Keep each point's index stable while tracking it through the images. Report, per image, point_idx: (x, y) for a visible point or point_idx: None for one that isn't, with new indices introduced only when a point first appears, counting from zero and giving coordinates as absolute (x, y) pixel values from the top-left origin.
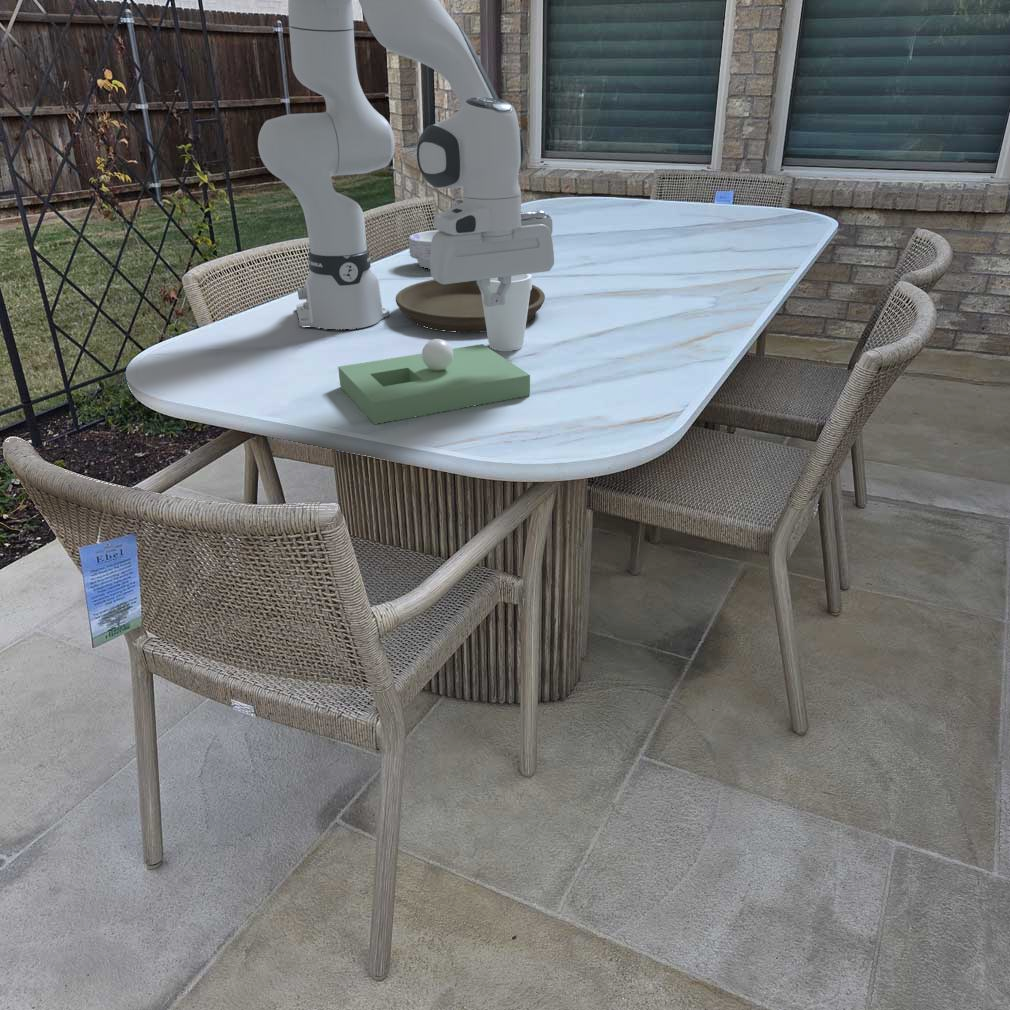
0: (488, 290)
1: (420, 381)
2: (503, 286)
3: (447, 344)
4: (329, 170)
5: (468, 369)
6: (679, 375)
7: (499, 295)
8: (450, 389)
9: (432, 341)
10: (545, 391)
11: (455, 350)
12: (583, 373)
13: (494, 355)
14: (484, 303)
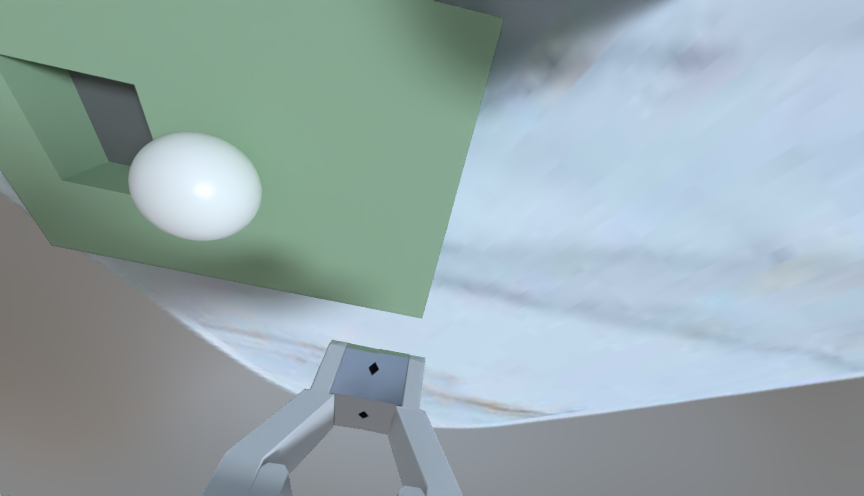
0: (297, 460)
1: None
2: (406, 478)
3: (211, 232)
4: None
5: (315, 218)
6: (705, 366)
7: (378, 430)
8: (233, 280)
9: (144, 211)
10: (466, 287)
11: (358, 18)
12: (612, 269)
13: (445, 171)
14: (329, 345)
